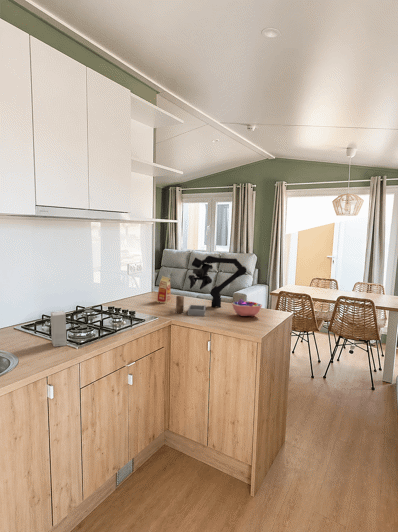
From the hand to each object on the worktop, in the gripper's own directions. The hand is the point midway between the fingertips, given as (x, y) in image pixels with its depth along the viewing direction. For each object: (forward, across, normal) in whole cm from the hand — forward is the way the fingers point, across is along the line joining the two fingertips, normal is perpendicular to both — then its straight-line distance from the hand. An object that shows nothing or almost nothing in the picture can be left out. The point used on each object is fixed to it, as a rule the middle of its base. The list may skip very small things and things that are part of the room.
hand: (195, 288), depth 241 cm
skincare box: (+78, +6, -70) cm, 105 cm away
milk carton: (+10, -31, +7) cm, 33 cm away
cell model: (+6, +36, +19) cm, 41 cm away
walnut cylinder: (+22, +1, -4) cm, 22 cm away
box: (+17, +8, +3) cm, 19 cm away
